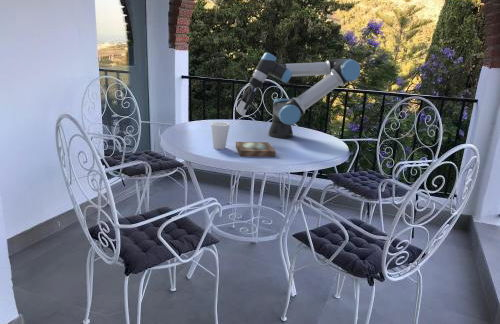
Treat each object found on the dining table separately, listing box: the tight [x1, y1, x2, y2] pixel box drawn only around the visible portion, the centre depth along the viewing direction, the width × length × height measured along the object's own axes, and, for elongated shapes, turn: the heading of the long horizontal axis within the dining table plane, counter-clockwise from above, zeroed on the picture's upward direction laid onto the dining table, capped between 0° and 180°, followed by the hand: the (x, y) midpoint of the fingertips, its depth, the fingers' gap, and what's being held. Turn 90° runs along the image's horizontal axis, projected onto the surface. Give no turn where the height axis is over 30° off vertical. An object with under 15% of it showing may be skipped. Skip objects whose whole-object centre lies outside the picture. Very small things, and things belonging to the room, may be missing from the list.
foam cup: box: [210, 121, 230, 150], centre depth 218 cm, size 10×9×13 cm
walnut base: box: [235, 141, 276, 158], centre depth 215 cm, size 18×18×3 cm
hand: (239, 113), depth 233 cm, fingers open, 13 cm apart
